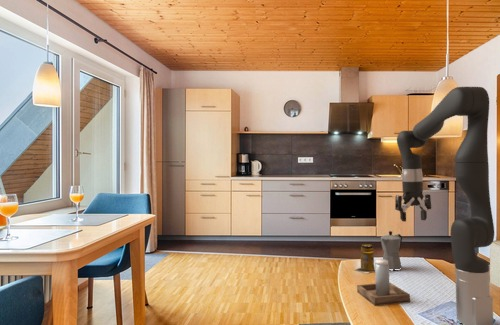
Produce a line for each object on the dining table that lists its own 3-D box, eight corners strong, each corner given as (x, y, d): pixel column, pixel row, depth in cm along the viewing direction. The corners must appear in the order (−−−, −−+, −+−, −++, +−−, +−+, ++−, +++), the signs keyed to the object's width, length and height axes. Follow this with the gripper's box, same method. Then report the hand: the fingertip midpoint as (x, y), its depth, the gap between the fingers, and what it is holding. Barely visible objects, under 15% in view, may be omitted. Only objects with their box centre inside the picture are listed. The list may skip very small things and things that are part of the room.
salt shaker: (392, 296, 137) (391, 261, 137) (380, 297, 136) (379, 262, 136) (385, 291, 142) (384, 258, 142) (373, 293, 141) (372, 259, 141)
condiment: (378, 270, 173) (377, 245, 173) (366, 273, 168) (365, 248, 168) (365, 267, 179) (364, 242, 179) (354, 270, 174) (353, 245, 174)
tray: (410, 302, 133) (409, 294, 133) (374, 305, 131) (374, 297, 131) (389, 289, 147) (389, 282, 147) (357, 292, 145) (357, 285, 145)
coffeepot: (392, 273, 167) (390, 234, 167) (374, 268, 175) (373, 231, 175) (411, 267, 176) (409, 230, 176) (393, 263, 184) (392, 227, 184)
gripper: (401, 181, 140) (402, 223, 140) (434, 180, 142) (436, 221, 142) (390, 180, 147) (392, 220, 147) (422, 179, 150) (423, 218, 150)
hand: (413, 220), depth 145 cm, fingers open, 8 cm apart
